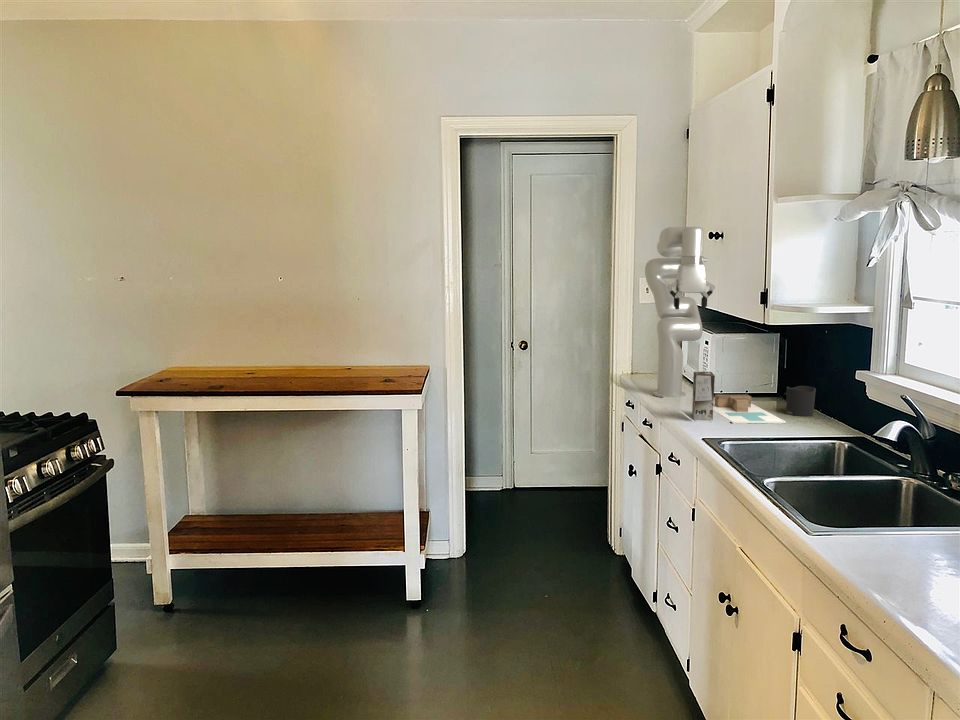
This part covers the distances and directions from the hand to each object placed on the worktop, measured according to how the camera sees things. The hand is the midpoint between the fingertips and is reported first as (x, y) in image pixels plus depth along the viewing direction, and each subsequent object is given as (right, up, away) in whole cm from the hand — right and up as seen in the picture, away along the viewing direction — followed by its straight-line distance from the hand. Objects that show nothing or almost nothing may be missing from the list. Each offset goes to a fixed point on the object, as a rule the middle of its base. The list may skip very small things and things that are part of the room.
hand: (690, 308), depth 270 cm
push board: (+17, -38, -4) cm, 41 cm away
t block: (+17, -36, +1) cm, 40 cm away
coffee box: (0, -39, -13) cm, 42 cm away
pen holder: (+36, -39, -8) cm, 54 cm away
